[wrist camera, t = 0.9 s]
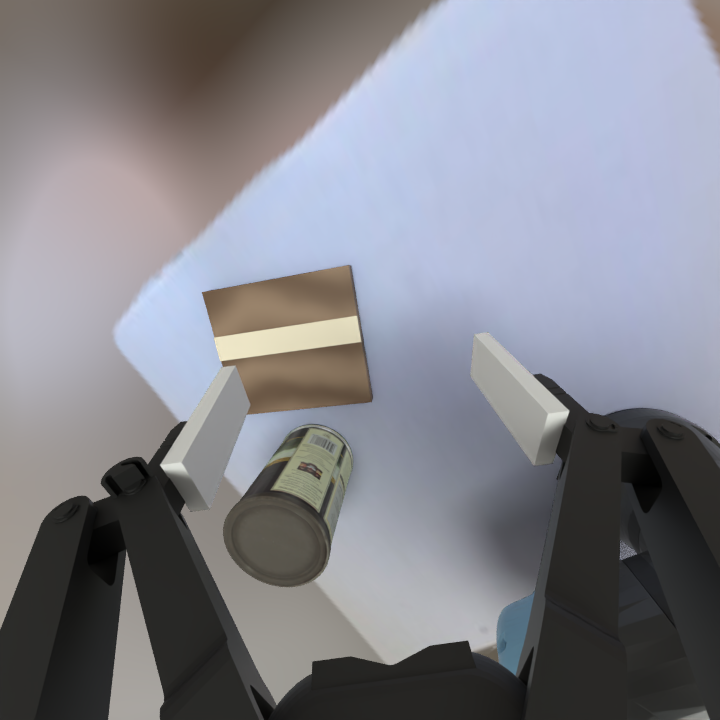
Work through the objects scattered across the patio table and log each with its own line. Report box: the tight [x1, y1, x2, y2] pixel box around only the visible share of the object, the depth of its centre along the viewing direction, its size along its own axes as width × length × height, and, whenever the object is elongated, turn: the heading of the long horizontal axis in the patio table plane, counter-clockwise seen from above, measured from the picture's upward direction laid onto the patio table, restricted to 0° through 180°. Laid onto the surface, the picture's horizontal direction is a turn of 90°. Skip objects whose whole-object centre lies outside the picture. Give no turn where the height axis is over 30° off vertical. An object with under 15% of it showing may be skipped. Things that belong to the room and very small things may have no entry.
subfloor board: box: [202, 265, 373, 415], centre depth 37 cm, size 16×18×2 cm
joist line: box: [214, 316, 361, 361], centre depth 36 cm, size 3×18×1 cm, turn 99°
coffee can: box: [223, 425, 353, 587], centre depth 34 cm, size 10×10×14 cm
